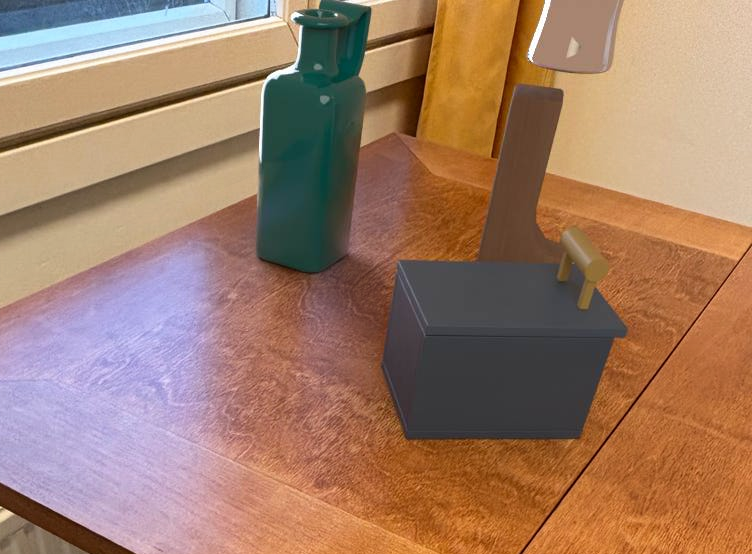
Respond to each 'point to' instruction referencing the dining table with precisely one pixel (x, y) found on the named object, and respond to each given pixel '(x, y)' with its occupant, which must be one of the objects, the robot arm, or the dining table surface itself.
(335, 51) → the green bottle
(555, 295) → the lid
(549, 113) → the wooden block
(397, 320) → the chest
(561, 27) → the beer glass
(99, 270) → the dining table surface
